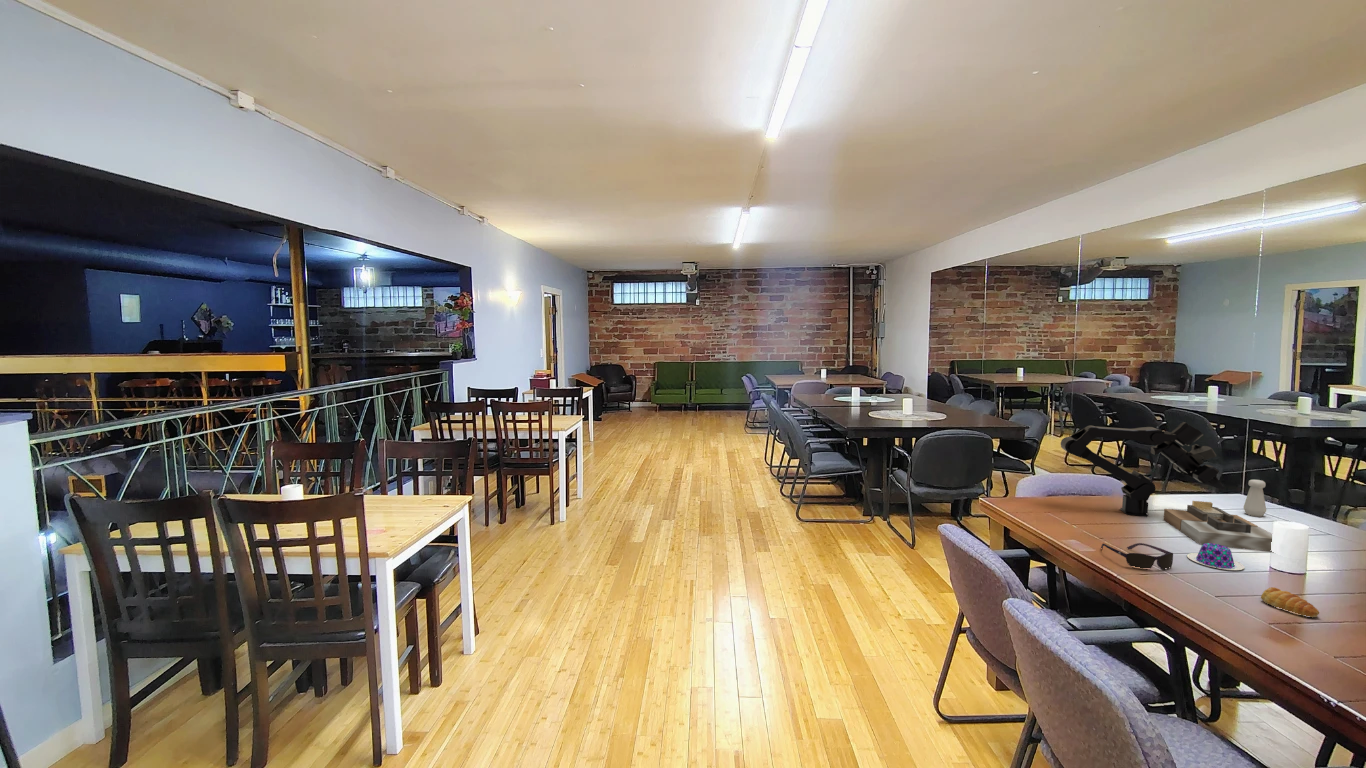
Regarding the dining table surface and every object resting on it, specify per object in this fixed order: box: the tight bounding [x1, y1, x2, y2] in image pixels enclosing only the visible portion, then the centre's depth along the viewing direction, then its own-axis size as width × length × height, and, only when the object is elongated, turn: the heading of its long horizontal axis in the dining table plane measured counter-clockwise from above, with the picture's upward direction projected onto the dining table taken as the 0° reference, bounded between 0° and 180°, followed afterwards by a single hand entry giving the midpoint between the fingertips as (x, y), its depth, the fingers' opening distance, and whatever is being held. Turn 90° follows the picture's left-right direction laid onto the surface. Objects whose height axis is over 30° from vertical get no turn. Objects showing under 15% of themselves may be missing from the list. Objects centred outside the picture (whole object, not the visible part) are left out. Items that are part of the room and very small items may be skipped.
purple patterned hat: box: [1187, 543, 1245, 571], centre depth 157 cm, size 12×12×5 cm
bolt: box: [1191, 500, 1223, 520], centre depth 185 cm, size 5×8×4 cm, turn 159°
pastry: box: [1260, 587, 1320, 618], centre depth 131 cm, size 9×7×4 cm
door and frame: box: [1163, 504, 1273, 552], centre depth 179 cm, size 20×24×6 cm
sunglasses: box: [1100, 542, 1174, 570], centre depth 160 cm, size 14×16×5 cm
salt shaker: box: [1243, 479, 1267, 518], centre depth 197 cm, size 6×6×13 cm
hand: (1215, 485), depth 191 cm, fingers open, 9 cm apart
